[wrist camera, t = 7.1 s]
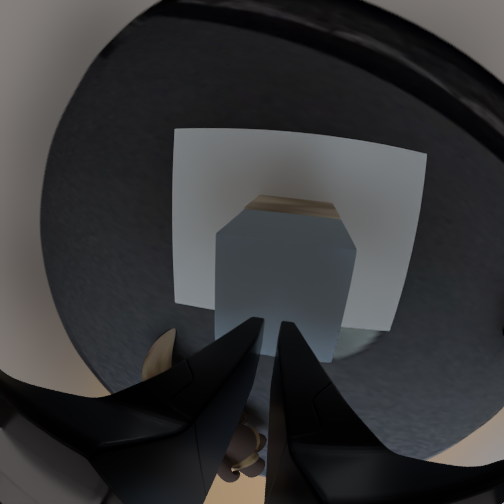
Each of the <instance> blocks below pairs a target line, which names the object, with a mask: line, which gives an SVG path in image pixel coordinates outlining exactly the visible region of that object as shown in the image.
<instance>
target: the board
mask: <svg viewBox="0 0 504 504" xmlns="http://www.w3.org/2000/svg"><path fill="white" fill-rule="evenodd" d="M426 159H427V154H425V153H420V152H416V151H412V150H407V149H403V148H398V147H393V146H388V145H383V144H378V143H372V142H366V141H361V140H354V139H348V138H341V137H334V136H326V135H318V134H309V133H299V132H287V131H274V130H258V129H232V128H185V129H175V133H174V153H173V188H172V235H173V270H174V291H175V303H180V304H185V305H190V306H196V307H201V308H207V309H213V310H215V246H216V233H217V232H218V231H219V230H221V229H222V228H223V227H224V226H225V225H226V224H228V223H229V222H230V221H231V220H232V219H233V218H235V217H236V216H237V215H238V214H239V213H240V212H242V211H243V210H244V207H245V206H246V205H247V204H249V203H250V202H251V201H252V200H254V199H255V198H256V197H257V196H259V195H266V196H276V197H286V198H295V199H304V200H313V201H321V202H329V203H333V205H334V207H335V208H336V210H337V212H338V214H339V215H340V217H341V220H342V222H343V224H344V226H345V228H346V229H347V231H348V233H349V235H350V237H351V239H352V241H353V243H354V245H355V247H356V249H357V253H356V259H355V264H354V269H353V275H352V280H351V284H350V289H349V294H348V298H347V303H346V307H345V312H344V316H343V320H342V324H341V327H347V328H357V329H369V330H382V331H390V328H391V325H392V322H393V319H394V316H395V313H396V309H397V306H398V303H399V299H400V296H401V292H402V289H403V285H404V282H405V278H406V274H407V270H408V266H409V262H410V257H411V253H412V249H413V244H414V239H415V234H416V229H417V224H418V218H419V213H420V207H421V200H422V193H423V186H424V178H425V169H426Z"/></svg>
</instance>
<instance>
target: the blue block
mask: <svg viewBox="0 0 504 504" xmlns="http://www.w3.org/2000/svg"><path fill="white" fill-rule="evenodd" d="M356 253H357V249H356V247H355V245H354V243H353V241H352V239H351V237H350V235H349V233H348V231H347V229H346V228H345V226H344V224H343V222H342V220H341V219H333V218H325V217H316V216H308V215H299V214H290V213H280V212H271V211H261V210H250V209H244V210H243V211H242V212H240V213H239V214H238V215H237V216H236V217H235V218H233V219H232V220H231V221H230V222H229V223H228V224H226V225H225V226H224V227H223V228H222V229H221V230H219V231H218V232H217V233H216V246H215V340H217V339H218V338H220V337H221V336H223V335H224V334H226V333H227V332H229V331H231V330H232V329H234V328H235V327H237V326H238V325H240V324H241V323H243V322H244V321H246V320H247V319H249V318H250V317H260V318H264V320H265V323H264V333H263V342H262V347H261V352H260V354H262V355H269V356H275V354H276V347H277V340H278V334H279V329H280V324H281V322H282V321H289V322H294V323H295V324H296V326H297V327H298V329H299V331H300V332H301V334H302V335H303V337H304V338H305V340H306V341H307V343H308V345H309V346H310V348H311V349H312V351H313V352H314V354H315V355H316V357H317V359H318V360H319V362H329V363H331V362H332V358H333V355H334V351H335V347H336V344H337V340H338V336H339V332H340V328H341V324H342V320H343V316H344V312H345V307H346V303H347V298H348V294H349V289H350V284H351V280H352V275H353V269H354V264H355V259H356Z"/></svg>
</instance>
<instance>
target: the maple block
mask: <svg viewBox="0 0 504 504" xmlns="http://www.w3.org/2000/svg"><path fill="white" fill-rule="evenodd" d="M244 209H250V210H261V211H271V212H280V213H290V214H299V215H308V216H316V217H325V218H333V219H341V217H340V215H339V214H338V212H337V210H336V208H335V207H334V205H333V203H329V202H321V201H313V200H304V199H295V198H286V197H276V196H266V195H259V196H257V197H256V198H255V199H254V200H252V201H251V202H250V203H249V204H247V205H246V206H245V207H244Z"/></svg>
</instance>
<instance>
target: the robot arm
mask: <svg viewBox="0 0 504 504" xmlns="http://www.w3.org/2000/svg"><path fill="white" fill-rule="evenodd" d="M264 323H265V320H264V318H260V317H250V318H249V319H247V320H246V321H244V322H243V323H241V324H240V325H238V326H237V327H235V328H234V329H232V330H231V331H229V332H227V333H226V334H224V335H223V336H221V337H220V338H218V339H217V340H215V341H213V342H212V343H210V344H209V345H207V346H206V347H204V348H202V349H201V350H199V351H198V352H196V353H194V354H193V355H191V356H190V357H188V358H186V360H183V361H181V362H180V363H178V364H176V365H175V366H173V367H171V368H169V369H167V370H166V371H164V372H162V373H160V374H158V375H156V376H154V377H151V378H149V379H147V380H145V381H143V382H140V383H138V384H136V385H133V386H131V387H129V388H126V389H124V390H121V391H119V392H116V393H114V394H111V395H108V396H105V397H98V398H90V397H83V396H77V395H73V394H68V393H63V392H59V391H55V390H50V389H46V388H42V387H38V386H35V385H31V384H28V383H25V382H22V381H19V380H17V379H14V378H12V377H11V376H9V375H7V374H6V373H4V372H3V371H1V370H0V504H203V503H204V501H205V499H206V496H207V494H208V492H209V489H210V487H211V485H212V483H213V481H214V478H215V476H216V474H217V472H218V469H219V467H220V465H221V463H222V460H223V458H224V456H225V453H226V451H227V448H228V446H229V444H230V441H231V439H232V436H233V434H234V432H235V429H236V427H237V424H238V422H239V419H240V417H241V414H242V412H243V409H244V407H245V404H246V402H247V399H248V397H249V394H250V391H251V389H252V386H253V383H254V379H255V375H256V370H257V366H258V361H259V356H260V352H261V347H262V342H263V333H264ZM503 335H504V331H503ZM265 487H266V488H265V502H264V504H502V503H503V502H504V460H500V461H497V462H494V463H491V464H488V465H484V466H476V467H463V466H453V465H447V464H441V463H434V462H429V461H424V460H419V459H415V458H410V457H406V456H402V455H398V454H396V453H394V452H392V451H391V450H389V449H388V448H387V447H386V446H384V445H383V444H382V443H381V442H380V440H379V439H378V438H377V437H376V436H375V435H374V434H373V433H372V431H371V430H370V429H369V428H368V427H367V426H366V425H365V424H364V422H363V421H362V420H361V419H360V418H359V417H358V416H357V415H356V413H355V412H354V411H353V410H352V408H351V407H350V406H349V405H348V404H347V402H346V401H345V399H344V398H343V397H342V395H341V394H340V392H339V391H338V389H337V388H336V386H335V385H334V384H333V382H332V380H331V379H330V377H329V376H328V374H327V372H326V371H325V369H324V368H323V366H322V365H321V363H320V362H319V360H318V359H317V357H316V355H315V354H314V352H313V351H312V349H311V348H310V346H309V345H308V343H307V341H306V340H305V338H304V337H303V335H302V334H301V332H300V331H299V329H298V327H297V326H296V324H295V323H294V322H289V321H282V322H281V324H280V329H279V334H278V340H277V347H276V354H275V361H274V367H273V374H272V380H271V388H270V410H269V432H268V452H267V470H266V486H265Z"/></svg>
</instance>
